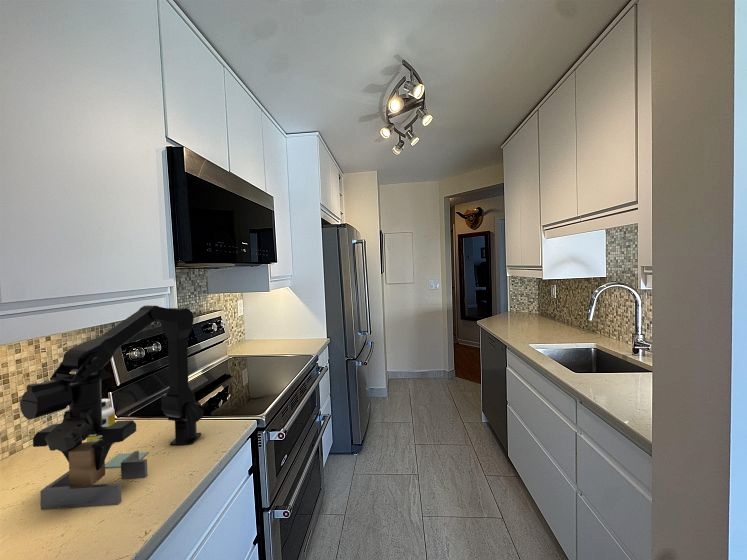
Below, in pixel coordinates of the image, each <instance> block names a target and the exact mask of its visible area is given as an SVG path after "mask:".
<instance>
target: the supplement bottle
mask: <svg viewBox="0 0 747 560" xmlns="http://www.w3.org/2000/svg"><path fill="white" fill-rule="evenodd" d="M105 401H106V406H104V407H102V419H106V423H105V424H104V425H102V427H109V426H111V425H112V424H114V423H115V422H116V412H115V408H114V407H112V406H110V404H111V399H110V398H102V402H105ZM97 441H98V436H95V437H87V438H86V442H97Z"/></svg>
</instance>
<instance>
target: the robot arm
mask: <svg viewBox="0 0 747 560" xmlns="http://www.w3.org/2000/svg"><path fill="white" fill-rule="evenodd" d="M194 318H195V317H194V313H193V311H191V309H189V308H187V307H186V308H185V307H184V308H180V307H167V308H166V307H162V306H159V305H143V306H142V307H140V308H139V309H138V310H137V311H136V312H134V313H133V314H131V315H130V316H128V317H127V318H125V319H123V320H122V321H121V322H119V323H118V324H116V325H115V326H114V327H112V328H111V329H109V330H108V331H106V332H104V333H103V334H101V335H99V336H97V337H96V338H93V339H90V340H89V339H88V340H87V341H83V342H81V343H79V344H76V346H73V347H71V348H70V349H68V350H66V351H65V353H64V354H63V357H62V361H61V363H60V364H59V365H58V367H57V368H56V369H55V371H54V372H53V373H52V374H51V376H50V378H49V380H47V381H43V382H38V383H37V382H36V383H31V384H27V386H26V391H25V392H23V394H22V397H21V400H20V401H19V407H20V410H21V414H22V415H23V417H24V418H25V419H27V420H29V421H30V420H34V419H37V418H40V417H44V416H47V415H50V414H54V413H56V412H60V411H62V410H63V411H64V410H65V409H67V408H68V407H69V408H68V409H67V410H66V411H64V414H63V419H62V422H60V423H52V424H51V425H49V426H47V427H45V428H43V429H41V430H39V431H36V432H35V434H34V435H33V437H32V446H33V448H38V447H47V446H48V449H49V451H52V452H53V451H59V452H61V453H62V454H63V456H64V458H65V459H66V460H67V463H69V451H71V450H72V449H74V448H76V447H77V446H79V445H80V444H82V443H83V442H85V441H86V440H87V437H95V436H98V441H97V442H96V443H94V444H93V445H91V446H92V447H93V448H94V449H95V465H96V470H99V469H101V468H102V465H103V463H104V461H105V462H106V458H107V456H108V453H109V452H110V449H111V448H112V446H113V444H115V443H120V442H121V443H122V442H123V441H125V440H126V439H127V438H129V437H130V436H132V435H133V434H135V432H137V424H136V422H135V421H134V420H131V419H130V420H117V421H115V423H114V424H112V425H111V426H109V427H102V425H104V424H105V423H106V419H102V407H104V406H106V401H105V402H102V399H103V398H102V397H103V396H102V380H104V379H108V378H111V377H112V374H111V373H109V372H107V371H106V370H105V369H104V367H105V366H106V365H107V364H108V363H109V362H110V361H111V359H112V358H113V357H114V355H115V353H116V351H117V350H119V348H120V347H122V346H123V345H125V343H127V342H129V341H130V340H131V339H133V338H134V337H135V336H136V335H138V334H139V333H141V332H142V331H143V330H144V329H146V328H147V327H149V326H150V325H151V324H153V323H154V322H156V323H160V326H161V331H162V332H163V333H164V335H165V336H166V339H167V347H168V348H167V351H168V357H167V358H168V384H169V385H168V386H169V387H168V389H167V392H166V393H165V394H163V395H161V396H160V402H161V407H160V410H162V412H163V415H165V416H166V418H167V420H168V421H172V422H173V421H174V439H173V440H172V441H171V442H169V445H170V446H178V445H192V444H194V443H195V442H196V441H197V440H198V439H199V438H200V436H201V435H202V432H197V431H198V430H197V422H199V421H200V420H202V419H203V417H204V412H205V410H203V408H201V407H200V406H198V405H197V402H196V397H195V394H194V392H193V390H192V389H191V387H190V385H189V357H188V351H189V349H188V337H189V335H190V334H191V331H192V330H193V327H194V326H193V325H194ZM71 372H72V373H71Z"/></svg>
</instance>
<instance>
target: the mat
mask: <svg viewBox="0 0 747 560" xmlns="http://www.w3.org/2000/svg"><path fill="white" fill-rule="evenodd" d="M132 453H133V452H125V453H123V452H122V453H117V454H116V455H115V456H113V457H112V458H111V459H109V460H108V461H107V462H105V469H117V468H118V469H119V468H120V469H121V462H122V461H124V460H125V459H126V458H127V457H128V456H130V455H131V454H132ZM146 454H147V455H148V454H149V451H145V452H142V451H139V460H141V459H144V458H145V457H146V456H147V455H146ZM145 455H146V456H145ZM144 456H145V457H144ZM143 457H144V458H143Z"/></svg>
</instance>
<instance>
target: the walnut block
mask: <svg viewBox="0 0 747 560" xmlns="http://www.w3.org/2000/svg"><path fill="white" fill-rule="evenodd" d="M94 443H96V442H87V441H83V442H82V444H80V445H79V446H77V447H76V448H74V449H72V450H71V451H69V462H68V471H69V483H70V486H84V485H96V483H98V482H99V480H101V479H102V478H104V476H106V468H105V464H106V460H105V461H104V463H103V465H102V468H101V469H99V470H96V465H95V449H94V448H93V447H92V446H91V445H93V444H94Z"/></svg>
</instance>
